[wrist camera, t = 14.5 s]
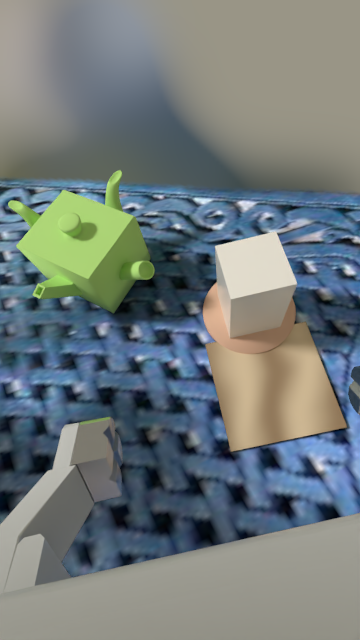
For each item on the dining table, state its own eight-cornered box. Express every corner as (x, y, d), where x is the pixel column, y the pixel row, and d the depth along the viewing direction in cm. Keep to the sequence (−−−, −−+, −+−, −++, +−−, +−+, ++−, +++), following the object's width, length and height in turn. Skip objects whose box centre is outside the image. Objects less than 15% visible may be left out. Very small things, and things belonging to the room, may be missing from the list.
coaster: (185, 311, 41) (184, 309, 40) (247, 258, 42) (247, 256, 42) (248, 374, 36) (249, 373, 36) (314, 312, 38) (315, 310, 38)
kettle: (48, 250, 48) (0, 193, 37) (139, 220, 48) (115, 154, 38) (63, 339, 41) (9, 299, 31) (167, 304, 41) (148, 252, 31)
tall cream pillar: (229, 338, 38) (230, 299, 29) (217, 294, 40) (215, 246, 31) (280, 327, 37) (297, 283, 28) (264, 283, 40) (276, 231, 31)
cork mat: (230, 451, 33) (231, 451, 33) (205, 345, 38) (205, 344, 38) (345, 427, 33) (347, 427, 32) (304, 322, 38) (305, 321, 38)
